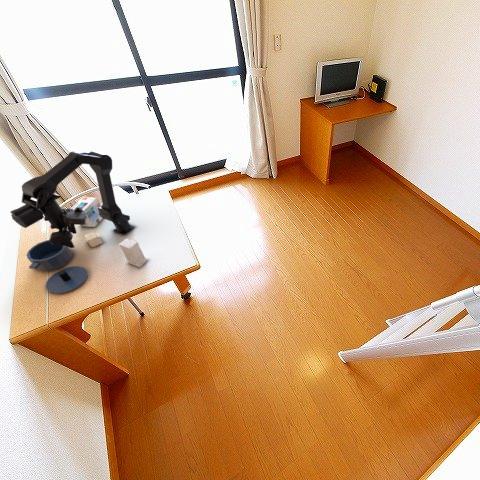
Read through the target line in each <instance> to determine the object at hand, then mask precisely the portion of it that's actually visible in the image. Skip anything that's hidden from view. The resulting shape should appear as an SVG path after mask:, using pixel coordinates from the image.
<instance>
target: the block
mask: <svg viewBox="0 0 480 480" xmlns="http://www.w3.org/2000/svg"><path fill="white" fill-rule="evenodd" d="M83 237H84V239H85V240H86V241H87V243H88V244H89V246H90V248H94V247H97V246H99V245H102V244H103V240H102V239H101V237H100V236H99V235H98V233H97V232H96V231H92V232H90V233H88V234H85V235H84V236H83Z"/></svg>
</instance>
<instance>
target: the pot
mask: <svg viewBox="0 0 480 480" xmlns="http://www.w3.org/2000/svg"><path fill="white" fill-rule="evenodd" d="M73 257H74V253H73V251H72V249H71V248H70V247H67V246H64V245H62V244H54V245H53V244H51V242H50V241H49V239H46V240H43V241H41V242H38V243H37V244H35V245H33V246H31V248H29V250H28V251H27V253H26V258H27V260H28V261H29V262H30V263H31V264H30V265H29V266H28V269H31V270H39V271H42V272H51V271H55V270H58V269H61V268H63V267H64V266H66V265H68V264H69V263H70V262H71V260H73Z"/></svg>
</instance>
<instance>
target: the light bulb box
mask: <svg viewBox="0 0 480 480" xmlns="http://www.w3.org/2000/svg"><path fill="white" fill-rule="evenodd" d="M101 206H102V204H101V202H100V200H99V198H98V197H92V196H91V197H90V196H83V197H82V198H81V199H79V200H78V202H76V203H75V204H74V205H73V206H71V207H70V209H73V210H74V209H75V208H76V207H80V208H81V209H82V210H83V211H85V213H86V224H85V225H80V226H81V227H87V228H96V226H97V225H98V224H99V223H100V222H101V221H102V220H104V219H103V218H102V217H101V216H100V215H99V210H98V208H99V207H101Z"/></svg>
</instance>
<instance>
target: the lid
mask: <svg viewBox="0 0 480 480" xmlns="http://www.w3.org/2000/svg"><path fill="white" fill-rule="evenodd" d="M88 275H89V272H88V271H87V269H86V268H85V267H83V266H77V265H76V266H75V265H74V266H69V267H65V268H62V269H60V270H58V271H56V272H54V273H53V274H52V275H51V276H50V277H48V279H47V280H46V283H45V289H46V290H47V291H48V292H49V293H51V294H55V295H57V294H59V295H61V294H66V293H68V292H71V291H74V290H76V289H78V288H79V287H80V286H82V285H83V284H84V283H85V282H86V281H87V279H88Z"/></svg>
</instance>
